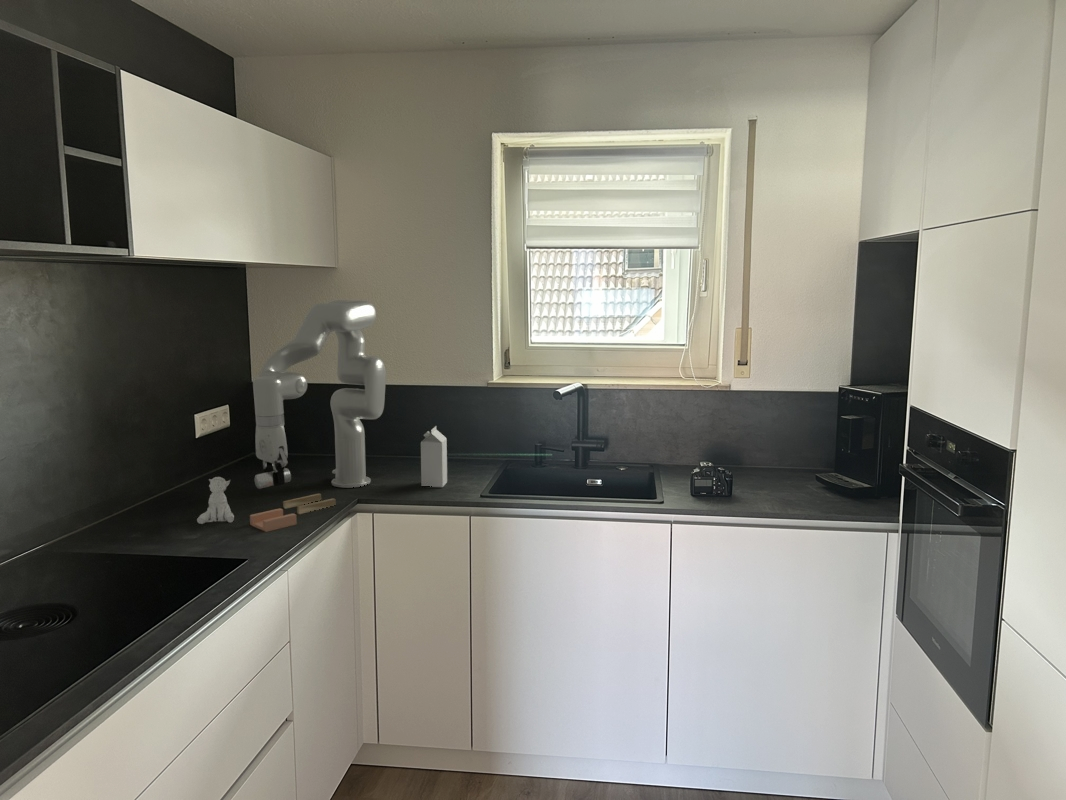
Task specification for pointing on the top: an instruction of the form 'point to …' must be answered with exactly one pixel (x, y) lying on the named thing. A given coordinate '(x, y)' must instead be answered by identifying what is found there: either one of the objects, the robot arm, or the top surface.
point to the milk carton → (434, 459)
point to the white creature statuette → (217, 503)
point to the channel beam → (308, 507)
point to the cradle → (272, 520)
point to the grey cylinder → (269, 479)
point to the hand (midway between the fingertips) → (274, 482)
